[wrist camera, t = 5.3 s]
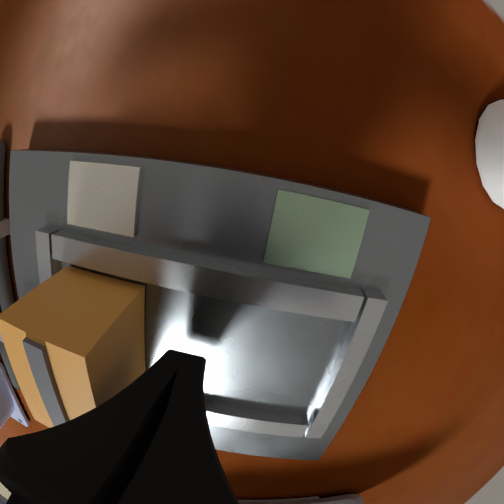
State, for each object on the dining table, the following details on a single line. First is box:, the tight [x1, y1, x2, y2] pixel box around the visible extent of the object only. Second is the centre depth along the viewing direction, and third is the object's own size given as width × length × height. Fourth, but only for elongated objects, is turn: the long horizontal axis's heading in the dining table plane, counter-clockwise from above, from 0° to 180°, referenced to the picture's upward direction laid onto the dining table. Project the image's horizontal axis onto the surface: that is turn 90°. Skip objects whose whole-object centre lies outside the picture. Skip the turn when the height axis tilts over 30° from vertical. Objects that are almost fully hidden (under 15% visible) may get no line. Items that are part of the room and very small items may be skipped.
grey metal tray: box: [9, 149, 431, 460], centre depth 12 cm, size 17×14×2 cm
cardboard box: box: [0, 266, 146, 428], centre depth 9 cm, size 4×5×5 cm
